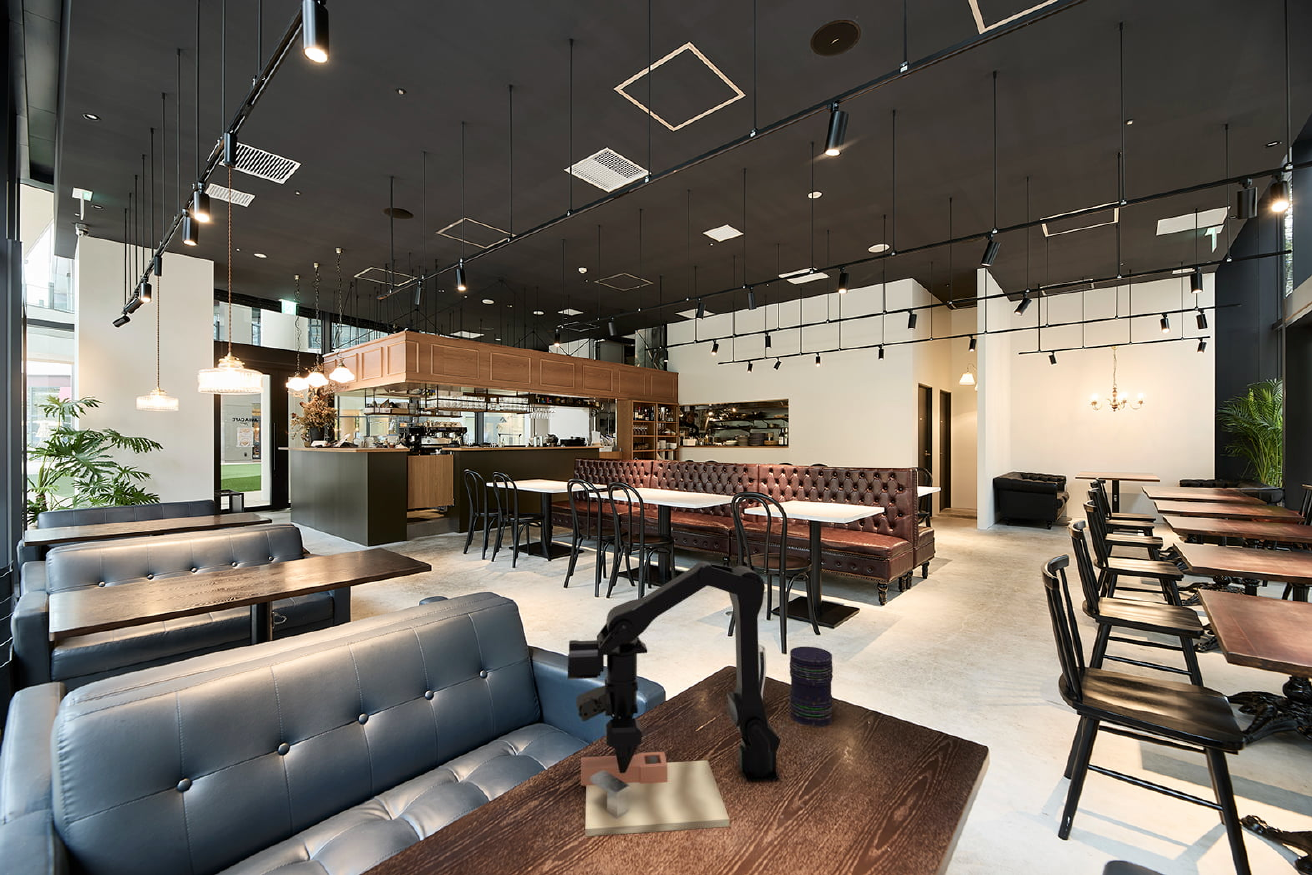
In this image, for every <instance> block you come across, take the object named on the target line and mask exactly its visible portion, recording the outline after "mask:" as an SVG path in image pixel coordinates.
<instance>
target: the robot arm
mask: <svg viewBox="0 0 1312 875" xmlns="http://www.w3.org/2000/svg"><path fill="white" fill-rule="evenodd" d="M765 586H766V585H765V581H764V579H763V578H762V577H761V576H760V574H758V573H757V572H755V571H754V570H752V569H751V568H749V567H747V566H745V565H738V566H735V567H730V566H726V565H720V564H714V563H713V564H712V563H710V562H708V561H699V562H696V563H695V565H694V566H692V567H691V568H689V569H687V570H686V571H684V572H683V573H681V574H679V575H677V576H676V577H674V578H673V579H671V580H670V581H668V582H666V583H664V584H663V585H662V586H660V587H657V589H655V590H653V591H652V592H650V593H648V594H647V595H646V596H642V597H640V598H636V599H632V600H628V601H625V602H623V603H621V604H619V605H615V606H614V607H612V608H611V609H610V610H609V611H608V613H607V616H606V622H605V624H604V625H603V627H602V628H601V630H600V631H599V632H598V633H597V634H596V639H595V640H578V639H577V640H576V639H574V640H572V639H571V640H569V641H568V654H567V680H585V679H588V680H589V679H598V677H600V676H601V673H604V670H605V656H606V677H605V678H604V685H602V686H599V687H595V688H592V689H590V690H587V691H585V692H583V693H580V694H579V695H578V696H576V702H575V706H576V708H577V711H578V716H579V717H580V720H581V721H582V722H587V721H589V720H590V719H592V718H594V717H597V716H598V715H600V714H603V713H604V712H605V713H604V714H605V715H604V716H605V717H610V718H612V719H610V720H609V721H607V723H606V724H605V741H606V743H605V745H607V746H608V747H611V748H613V749H614V752H615V756H616V757H617V762H618V767H619V772H620V773H626V771H627V768H628V766H629V764H630V762H631V759H632V757H633V755H635V753H636V751H637V749H638V747H639V746H640V745H641V744H642V743H643V741H642V740H643V736H642V735H643V734H642V733H643V732H642V725H641V722H639V720H638V719H637V718H635V717H634V714H639V713H638V711H639V709H638V701H637V700H638V697H637V695H638V691H639V685H638V654H647V653H648V648H647V646H646V645H647V644H646V643H644V642H643V641H642V640H641V639H640V637H639V636H640V635H641V634H643V633H644V632H645V631H646V630H647V628H649V626H650V624H652V622H653V621H654V620H655V619H657V618H658V617H660V616H661V615H662V614H664V613H666V612H667V611H670V610H671V609H672V608H673V607H675V606H677V605H679V604H680V603H681V602H683V601H684V600H686V599H688V598H690V597H692V596H693V595H694V594H696V593H697V592H699V591H701V590H703V589H704V588H706V587H712V588H715V589H718V590H721V591H724V592H727V593H728V594H729V599H730V601H731V605H732V608H733V611H734V620H735V621H734V623H735V624H734V626H735V667H736V669H735V670H736V685H735V688H734V690H733V691H727V692H726V695H727V703H728V705H727V710H726V712H727V713H728V715H729V716H730V719H731V720H732V722H733V724H734V725H735V727H736V728H737V729H738V732H739V733H740V735H741V736H740V737H741V738H740V741H741V742H740V745H739V746H738V761H737V762H738V763H737V764H738V768H739V770H740V772H741V774H743V777H744V779H745V780H746V782H747V783H748V782H749V783H750V782H765V781H767V782H768V781H779V780H780V775H779V773H778V771H777V751H778V749H779V746H780V743H781V738H780V737H779V736H778V735H777V733H776V731H775V730H774V729H773V728H772V726H771V725H770V723H769V720H768V715H767V710H766V706H765V704H764V703H765V702H764V698H763V699H762V696H761V693H760V688H759V653H758V644H759V621H758V618H759V614H760V612H761V609H762V607H763V604H764V602H763V601H764V595H765V589H766V587H765ZM633 717H634V718H633Z"/></svg>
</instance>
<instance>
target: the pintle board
mask: <svg viewBox="0 0 1312 875" xmlns="http://www.w3.org/2000/svg"><path fill="white" fill-rule="evenodd" d="M648 764H657V757H655V756H650V757H649V762H648ZM626 784H628V785H629V791H628V812H627V813H625V814H624V815H622V816H621V817H619V818H615V817H614V816H612V815H611V814H609V813H608V812H607V792H606V791H605V790H603V789H602V788H600V787H599V786H597V785H585V788H586V790H585V826H584V827H585V829H584V830H585V831H584V832H585V834H584V836H585V837H596V836H597V837H598V836H610V835H612V836H613V835H624V834H626V835H627V834H637V833H641V834H642V833H654V832H656V833H657V832H668V831H683V830H695V829H696V830H697V829H712V828H723V827H725V828H726V827H730V816H729V815H728V812H727V809H726V806H725V804H724V801H723V798H722V796H721V792H720V790H719V787H718V784H717V781H716V779H715V776H714V773H713V771H712V768H711V766H710V762H709V760H708V759H707V760H694V761H693V760H690V761H675V762H667V782H662V783H645V784H640V782H635V783H626Z"/></svg>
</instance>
